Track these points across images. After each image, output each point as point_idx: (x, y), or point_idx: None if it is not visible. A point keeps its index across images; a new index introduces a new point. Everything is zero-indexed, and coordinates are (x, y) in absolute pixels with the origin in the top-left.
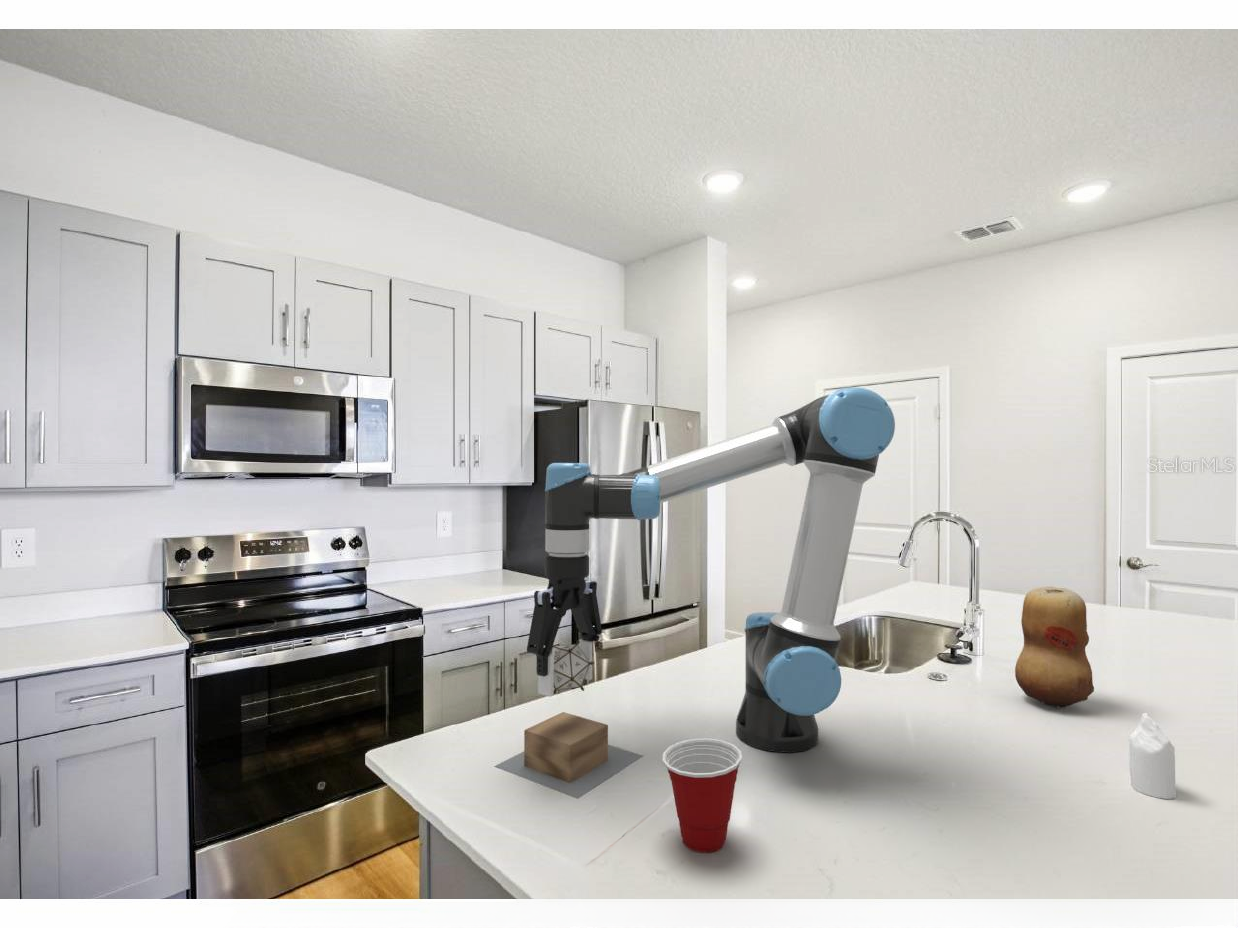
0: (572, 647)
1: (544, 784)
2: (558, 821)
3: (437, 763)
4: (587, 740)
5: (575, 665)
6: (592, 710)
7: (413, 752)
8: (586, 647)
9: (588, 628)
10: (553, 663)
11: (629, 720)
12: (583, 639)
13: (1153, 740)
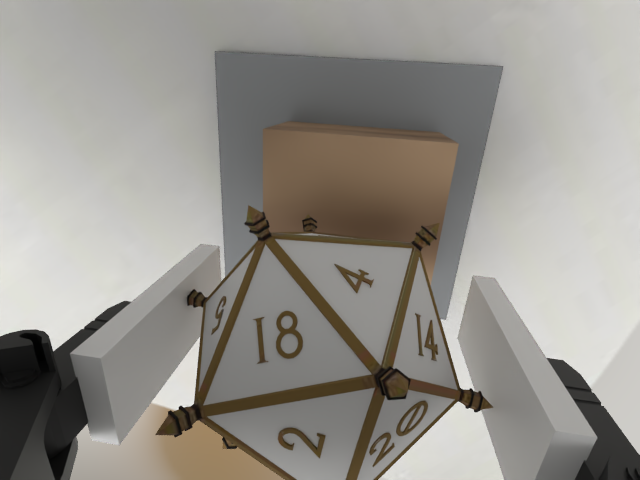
0: (284, 405)
1: (472, 181)
2: (606, 52)
3: (470, 411)
4: (369, 135)
5: (372, 280)
6: (99, 299)
7: (451, 464)
8: (132, 356)
9: (4, 473)
10: (534, 381)
11: (78, 203)
12: (85, 422)
13: None
